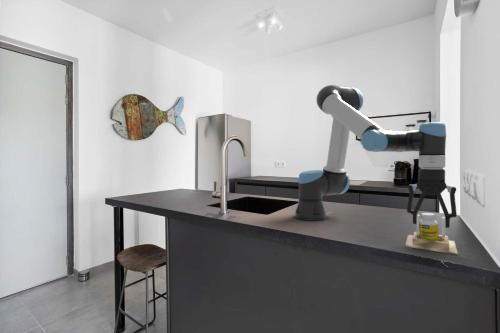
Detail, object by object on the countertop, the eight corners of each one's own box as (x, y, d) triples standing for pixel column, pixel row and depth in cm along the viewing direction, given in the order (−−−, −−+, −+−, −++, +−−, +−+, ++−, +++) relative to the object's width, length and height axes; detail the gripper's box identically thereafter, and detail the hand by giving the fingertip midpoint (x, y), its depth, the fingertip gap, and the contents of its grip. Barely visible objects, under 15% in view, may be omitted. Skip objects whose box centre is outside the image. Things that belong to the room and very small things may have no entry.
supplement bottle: (420, 243, 92) (418, 215, 92) (420, 239, 96) (418, 212, 96) (439, 245, 89) (437, 215, 89) (438, 240, 93) (436, 212, 93)
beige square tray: (405, 246, 90) (405, 239, 90) (408, 236, 102) (408, 229, 102) (457, 254, 83) (457, 246, 82) (454, 242, 94) (454, 235, 94)
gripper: (397, 168, 94) (396, 233, 95) (469, 169, 83) (468, 243, 84) (399, 167, 100) (399, 228, 101) (467, 168, 89) (465, 237, 90)
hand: (430, 235), depth 92 cm, fingers open, 7 cm apart
